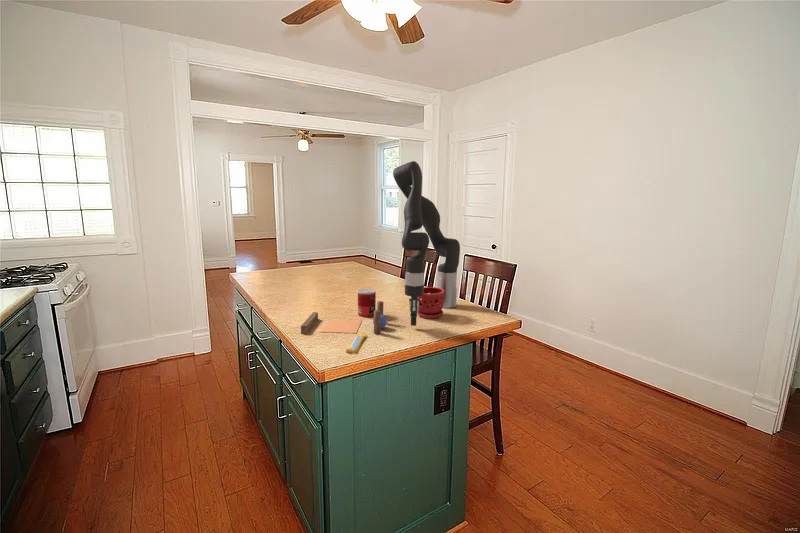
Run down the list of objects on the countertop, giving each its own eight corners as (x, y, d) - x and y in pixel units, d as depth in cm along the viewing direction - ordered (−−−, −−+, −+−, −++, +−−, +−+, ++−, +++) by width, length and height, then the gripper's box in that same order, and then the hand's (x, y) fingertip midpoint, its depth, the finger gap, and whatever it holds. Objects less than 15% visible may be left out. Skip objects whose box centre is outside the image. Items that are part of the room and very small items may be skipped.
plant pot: (427, 309, 178) (428, 285, 176) (449, 316, 169) (450, 290, 167) (408, 315, 169) (409, 289, 167) (430, 322, 160) (431, 294, 158)
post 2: (380, 332, 147) (381, 309, 146) (380, 334, 145) (380, 311, 143) (374, 331, 147) (374, 309, 146) (373, 334, 145) (373, 311, 143)
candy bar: (357, 355, 126) (357, 350, 126) (344, 355, 127) (344, 349, 126) (367, 337, 142) (367, 333, 142) (356, 337, 143) (356, 332, 143)
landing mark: (361, 321, 159) (361, 321, 159) (356, 333, 146) (356, 332, 145) (328, 320, 160) (328, 320, 160) (320, 332, 146) (320, 331, 146)
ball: (380, 328, 155) (390, 320, 154) (378, 333, 149) (388, 324, 148) (371, 318, 154) (381, 309, 153) (368, 322, 149) (379, 314, 148)
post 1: (383, 321, 160) (383, 301, 158) (382, 323, 157) (383, 302, 155) (377, 321, 160) (377, 301, 158) (376, 323, 157) (376, 302, 156)
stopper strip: (318, 319, 162) (317, 312, 161) (306, 333, 144) (306, 326, 144) (313, 318, 162) (313, 312, 161) (301, 333, 144) (300, 326, 144)
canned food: (373, 318, 165) (373, 293, 163) (355, 316, 166) (355, 292, 164) (377, 313, 172) (377, 289, 170) (360, 311, 174) (360, 288, 172)
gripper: (405, 279, 155) (404, 319, 158) (404, 286, 142) (403, 330, 145) (423, 279, 155) (422, 320, 158) (424, 287, 142) (423, 331, 145)
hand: (413, 325), depth 151 cm, fingers closed
